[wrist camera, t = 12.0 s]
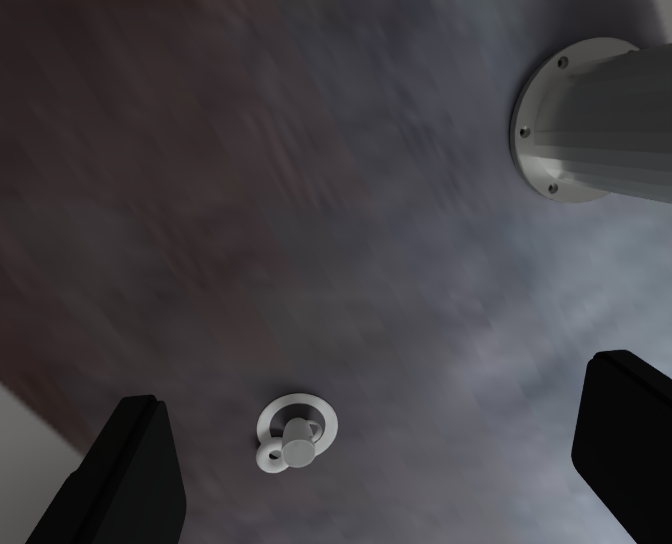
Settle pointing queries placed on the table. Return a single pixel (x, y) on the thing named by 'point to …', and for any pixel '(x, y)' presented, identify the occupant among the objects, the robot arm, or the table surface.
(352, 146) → the table surface
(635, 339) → the table surface
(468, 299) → the table surface
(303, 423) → the teacup and saucer
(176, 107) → the table surface
